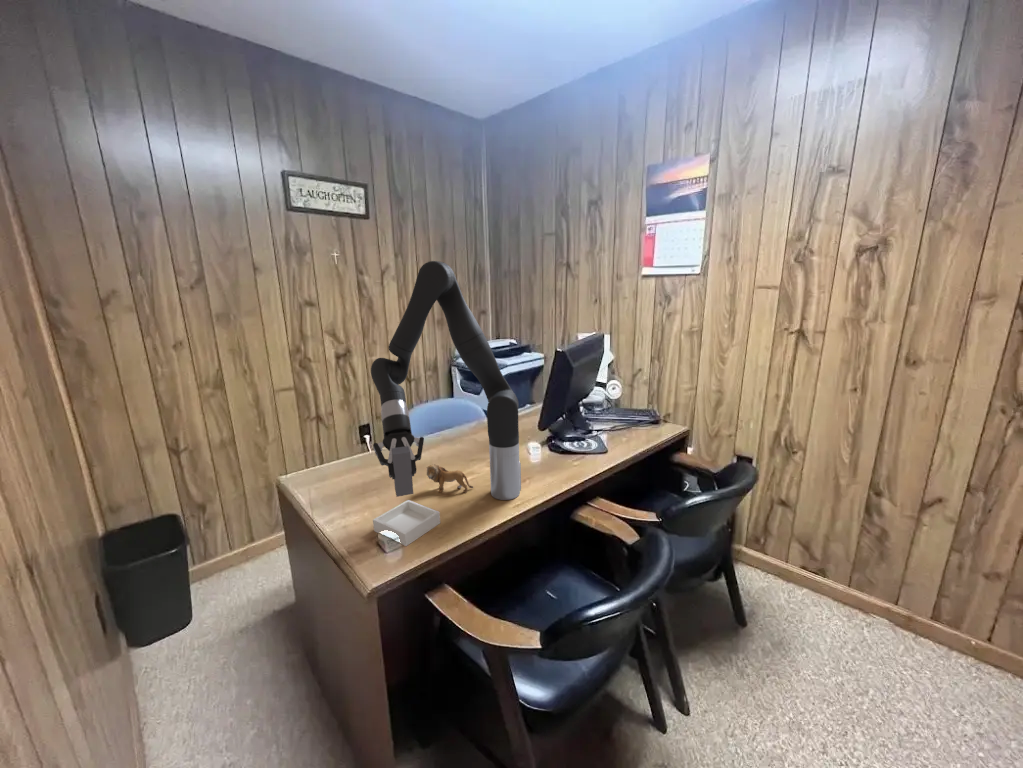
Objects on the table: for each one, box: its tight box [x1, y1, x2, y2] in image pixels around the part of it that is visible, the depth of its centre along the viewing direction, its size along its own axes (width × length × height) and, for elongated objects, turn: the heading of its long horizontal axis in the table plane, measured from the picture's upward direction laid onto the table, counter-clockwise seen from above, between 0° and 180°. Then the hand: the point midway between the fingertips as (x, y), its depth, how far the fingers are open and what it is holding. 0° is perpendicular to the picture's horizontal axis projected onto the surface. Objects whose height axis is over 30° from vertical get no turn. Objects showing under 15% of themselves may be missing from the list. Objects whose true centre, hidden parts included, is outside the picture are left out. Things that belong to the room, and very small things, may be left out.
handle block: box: [391, 446, 414, 498], centre depth 112 cm, size 4×4×12 cm
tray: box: [372, 499, 441, 547], centre depth 116 cm, size 13×13×4 cm
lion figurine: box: [426, 464, 474, 493], centre depth 135 cm, size 15×5×9 cm, turn 93°
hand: (403, 476), depth 110 cm, fingers closed on handle block, 4 cm apart
